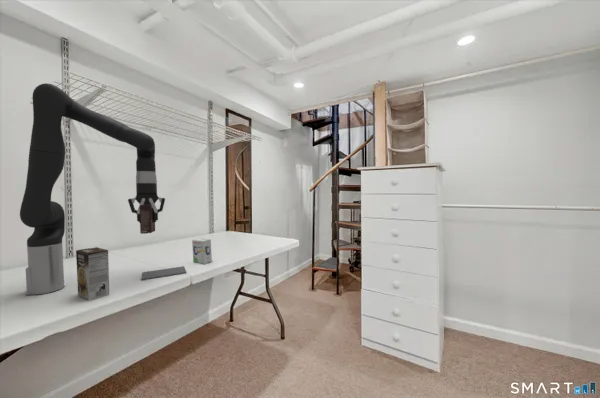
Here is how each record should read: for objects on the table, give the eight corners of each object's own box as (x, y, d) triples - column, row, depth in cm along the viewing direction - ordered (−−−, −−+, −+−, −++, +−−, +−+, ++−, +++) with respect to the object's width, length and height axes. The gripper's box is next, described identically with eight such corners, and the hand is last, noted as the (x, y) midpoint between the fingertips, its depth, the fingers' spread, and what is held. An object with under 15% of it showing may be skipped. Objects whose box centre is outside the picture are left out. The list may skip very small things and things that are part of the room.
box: (152, 233, 106) (150, 204, 105) (140, 234, 105) (138, 205, 104) (156, 230, 112) (154, 203, 111) (145, 231, 111) (143, 204, 110)
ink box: (212, 261, 130) (211, 239, 129) (204, 264, 125) (203, 240, 125) (200, 259, 134) (199, 237, 133) (192, 262, 129) (191, 239, 129)
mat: (141, 280, 103) (141, 279, 103) (142, 273, 112) (142, 272, 112) (186, 273, 112) (186, 271, 112) (184, 267, 121) (184, 266, 121)
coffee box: (76, 295, 89) (75, 250, 88) (98, 289, 95) (97, 246, 94) (88, 301, 84) (86, 253, 84) (110, 294, 90) (108, 249, 89)
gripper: (125, 182, 101) (126, 224, 101) (165, 182, 108) (167, 221, 108) (127, 182, 107) (128, 222, 108) (165, 182, 114) (166, 220, 115)
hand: (147, 222), depth 108 cm, fingers closed on box, 5 cm apart
